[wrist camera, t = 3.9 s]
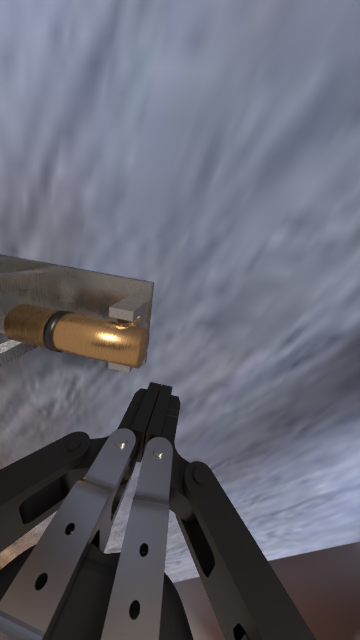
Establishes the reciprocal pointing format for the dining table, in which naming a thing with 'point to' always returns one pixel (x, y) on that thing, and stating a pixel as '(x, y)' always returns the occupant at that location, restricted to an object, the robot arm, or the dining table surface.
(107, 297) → the collar stand
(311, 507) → the dining table surface
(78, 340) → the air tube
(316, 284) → the dining table surface
